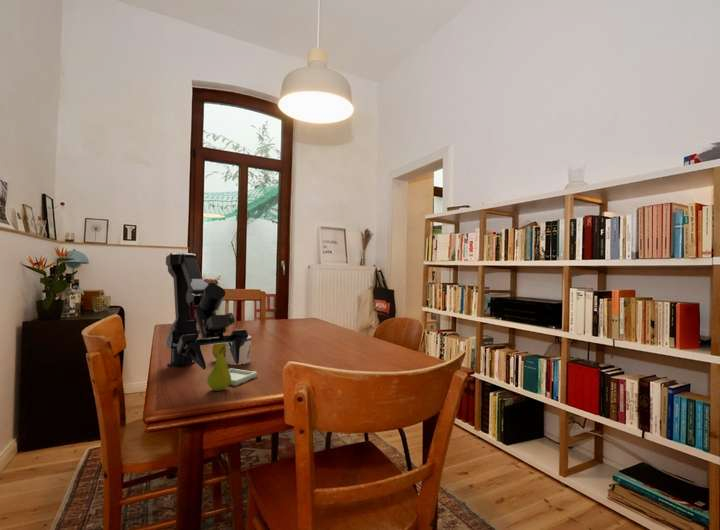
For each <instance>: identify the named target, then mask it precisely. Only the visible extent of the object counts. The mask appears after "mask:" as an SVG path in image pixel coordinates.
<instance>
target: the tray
mask: <svg viewBox="0 0 720 530" xmlns="http://www.w3.org/2000/svg"><path fill="white" fill-rule="evenodd" d="M228 371H229V373H230V375H231V383H230V385H229V386H233V387H235V386H239V385H242V384H244V383H246V382H248V380H249V381H250V379H251V380H253V379H256V378H257V377H258V372H257V371H253V370H252V371H251V370H244V369H237V368H231V367H230V368H228ZM252 378H253V379H252ZM241 383H242V384H241Z"/></svg>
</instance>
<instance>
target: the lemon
mask: <svg viewBox="0 0 720 530" xmlns="http://www.w3.org/2000/svg"><path fill="white" fill-rule="evenodd" d="M222 347H224V348H223V349H222ZM221 349H222V351H221V353H222V354H223V356H224V357H225V356H226V343H220V344H212V350H211V351H212V352H211V353H212V356H213V357H214V359H217V356H218V354H219V352H220V350H221Z"/></svg>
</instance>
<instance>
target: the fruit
mask: <svg viewBox="0 0 720 530" xmlns="http://www.w3.org/2000/svg"><path fill="white" fill-rule="evenodd" d="M223 348H224V347H222V349H223ZM222 349H221V350H220V352H219V354H218V356H217V359H216V358H215V359H216V360H215V362H214V366H213V368H212V369H211V372H210V373H209V374H208V375H207V385H208V386H209V388H210V389H211V390H212V391H215V392H216V391H218V392H219V391H223V390H226V388H228V387H230V386H231V385H230V383H231V375H230V373H229V371H228V369H229V366H228V364H227V362H226V359H225V357H224V356H223V354H222V353H221V351H222Z"/></svg>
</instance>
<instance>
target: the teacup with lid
mask: <svg viewBox="0 0 720 530" xmlns="http://www.w3.org/2000/svg"><path fill="white" fill-rule="evenodd" d="M248 335H249V334H248ZM252 340H253V337H252V336H251V335H249V336H248V337H247V339H246V341H245V343H244V345H243V346H241V347H240V352H239V363H238V364H236V363H235V361H234V359H233V356H232V354H231V351H230V348H231V347H230V346H229V343H226V356H225V359H226V362H227V365H229V364H230V365H229V366H241V364H243V365H247V364H249V363H250V362H251V359H252V356H251V354H252V353H251V352H252ZM246 363H247V364H246Z"/></svg>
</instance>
